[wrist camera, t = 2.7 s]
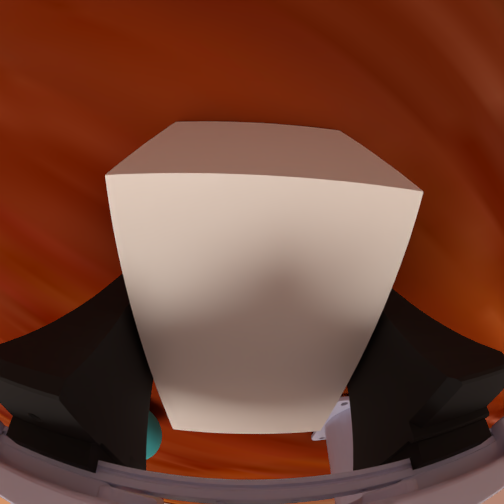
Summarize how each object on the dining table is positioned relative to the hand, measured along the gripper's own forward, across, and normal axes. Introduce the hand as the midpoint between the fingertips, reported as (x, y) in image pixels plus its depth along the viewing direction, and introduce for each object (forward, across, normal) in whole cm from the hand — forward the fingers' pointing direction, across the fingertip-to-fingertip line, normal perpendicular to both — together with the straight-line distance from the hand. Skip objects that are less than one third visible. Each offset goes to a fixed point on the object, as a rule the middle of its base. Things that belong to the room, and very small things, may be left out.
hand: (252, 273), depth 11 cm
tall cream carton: (+2, 0, 0) cm, 2 cm away
